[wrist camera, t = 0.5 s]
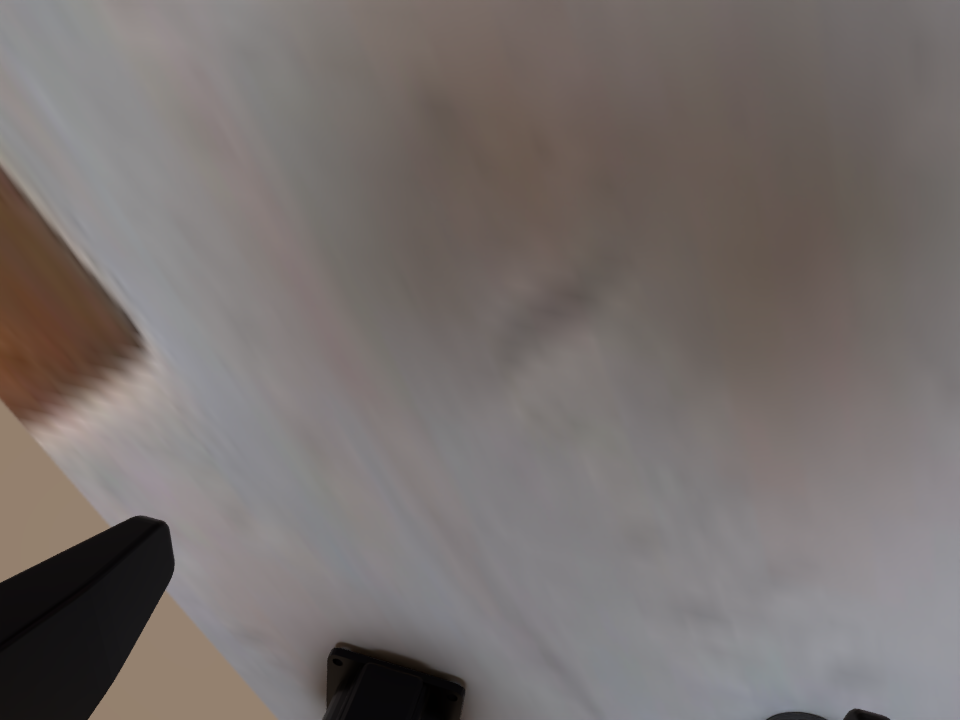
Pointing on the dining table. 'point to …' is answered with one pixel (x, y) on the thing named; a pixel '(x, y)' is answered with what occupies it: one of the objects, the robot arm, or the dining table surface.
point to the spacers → (795, 717)
